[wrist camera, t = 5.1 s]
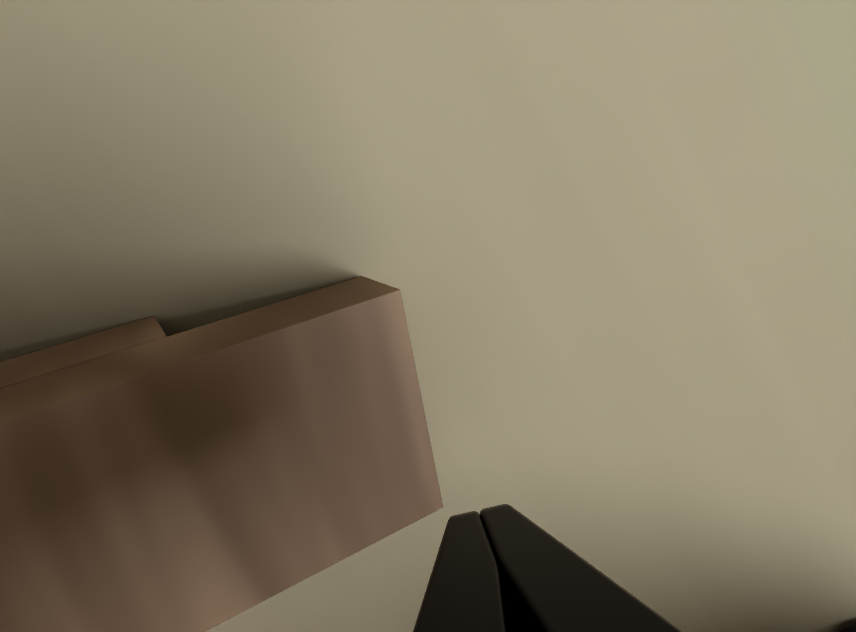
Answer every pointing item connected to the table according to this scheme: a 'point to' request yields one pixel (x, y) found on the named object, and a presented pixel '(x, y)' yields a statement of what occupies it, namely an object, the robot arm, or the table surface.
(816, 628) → the table surface
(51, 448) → the domino
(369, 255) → the table surface
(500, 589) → the robot arm
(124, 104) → the table surface
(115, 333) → the domino
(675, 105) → the table surface
